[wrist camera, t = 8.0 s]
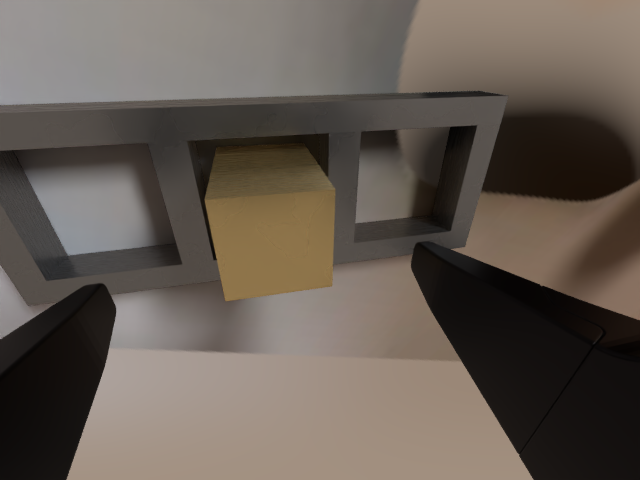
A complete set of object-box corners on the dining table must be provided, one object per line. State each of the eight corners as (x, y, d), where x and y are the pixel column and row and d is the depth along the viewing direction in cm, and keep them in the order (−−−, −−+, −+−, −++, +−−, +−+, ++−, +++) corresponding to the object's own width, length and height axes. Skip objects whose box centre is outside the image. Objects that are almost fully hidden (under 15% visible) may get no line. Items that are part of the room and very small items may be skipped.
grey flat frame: (479, 90, 15) (508, 95, 14) (445, 230, 20) (464, 247, 18) (-49, 106, 11) (-99, 116, 10) (50, 278, 16) (28, 306, 14)
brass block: (304, 216, 17) (332, 286, 12) (229, 223, 16) (225, 301, 11) (303, 142, 15) (335, 189, 10) (216, 146, 14) (204, 199, 9)
